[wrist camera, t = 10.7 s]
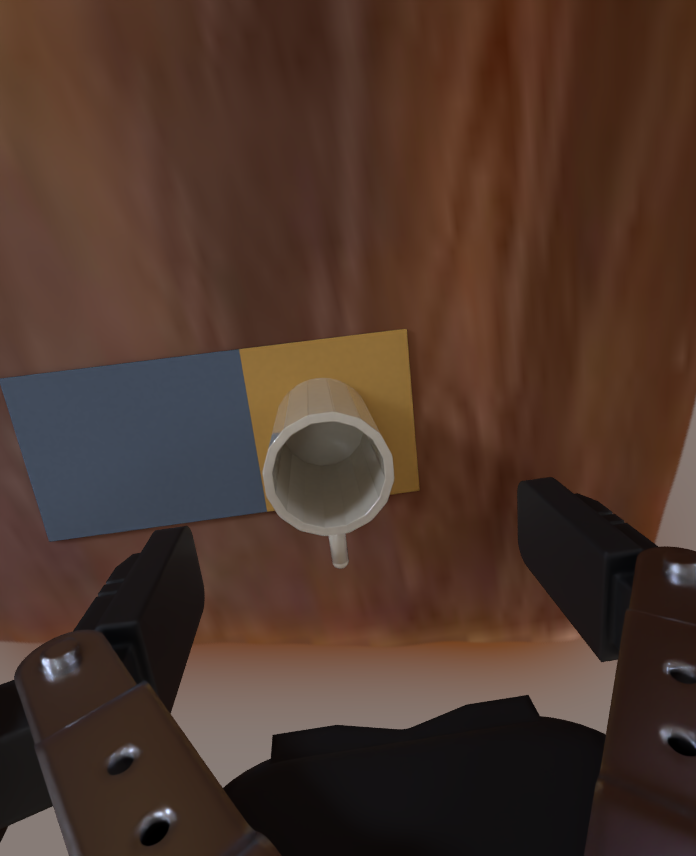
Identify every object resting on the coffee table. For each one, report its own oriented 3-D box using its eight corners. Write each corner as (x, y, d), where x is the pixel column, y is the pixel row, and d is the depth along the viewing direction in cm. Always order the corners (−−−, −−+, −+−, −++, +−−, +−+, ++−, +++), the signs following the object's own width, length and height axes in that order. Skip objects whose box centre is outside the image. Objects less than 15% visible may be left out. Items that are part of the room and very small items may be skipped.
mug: (268, 383, 31) (253, 422, 22) (364, 371, 32) (387, 404, 22) (289, 514, 34) (283, 596, 25) (377, 501, 34) (404, 579, 25)
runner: (0, 378, 30) (-2, 379, 30) (406, 328, 31) (406, 328, 31) (50, 540, 33) (49, 541, 33) (419, 489, 34) (419, 490, 34)
